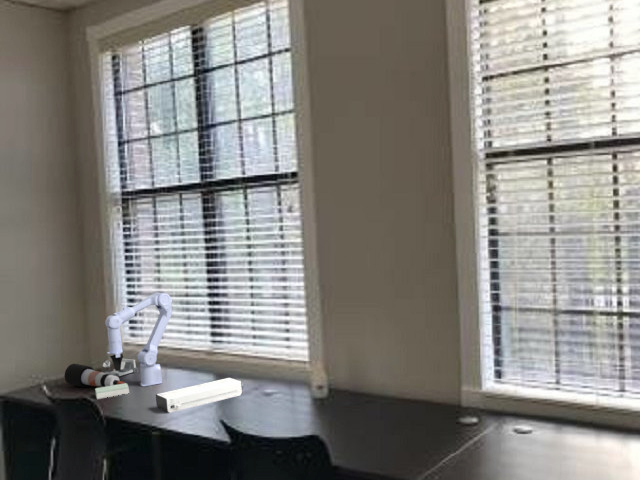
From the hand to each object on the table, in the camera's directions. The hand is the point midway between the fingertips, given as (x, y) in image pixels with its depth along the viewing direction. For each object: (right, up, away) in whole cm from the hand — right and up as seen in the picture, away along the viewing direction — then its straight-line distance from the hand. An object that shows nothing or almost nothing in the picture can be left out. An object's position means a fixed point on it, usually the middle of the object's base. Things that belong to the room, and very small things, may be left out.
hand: (117, 370), depth 325 cm
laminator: (+44, -8, -32) cm, 55 cm away
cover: (-1, -7, -7) cm, 10 cm away
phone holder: (-10, -10, +34) cm, 37 cm away
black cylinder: (-13, -11, +12) cm, 20 cm away
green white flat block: (0, -10, -7) cm, 12 cm away
